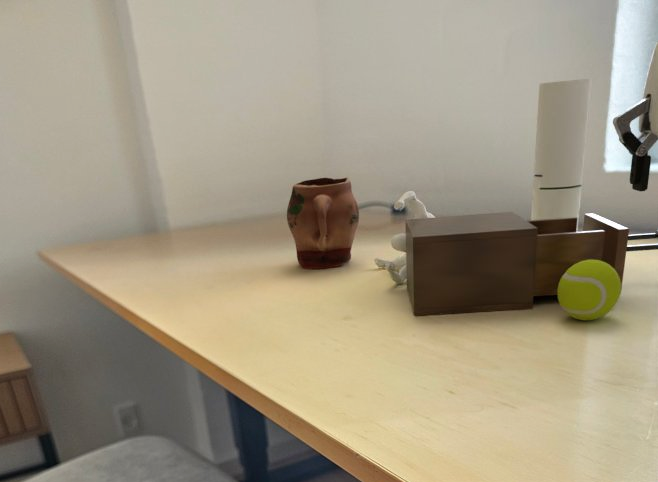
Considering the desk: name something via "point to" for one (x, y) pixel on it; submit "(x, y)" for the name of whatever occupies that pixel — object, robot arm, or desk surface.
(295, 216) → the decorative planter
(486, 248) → the cabinet
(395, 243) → the person figurine
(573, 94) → the cylindrical container
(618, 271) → the drawer
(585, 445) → the desk surface
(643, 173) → the robot arm
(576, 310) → the tennis ball
